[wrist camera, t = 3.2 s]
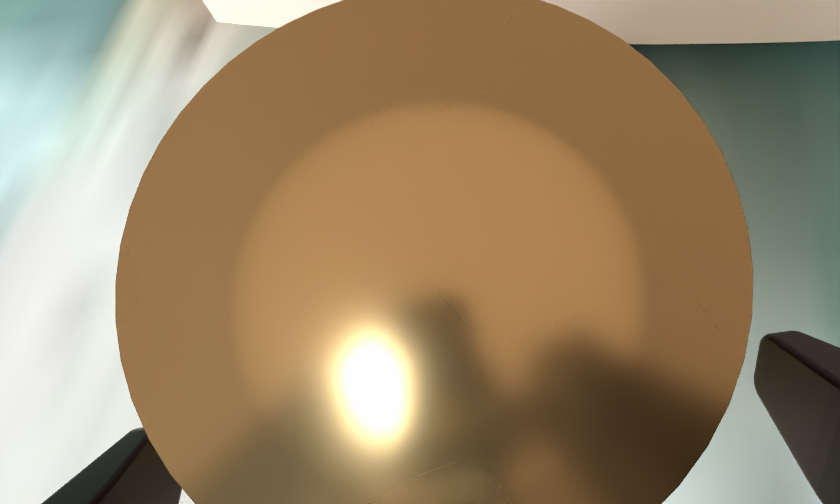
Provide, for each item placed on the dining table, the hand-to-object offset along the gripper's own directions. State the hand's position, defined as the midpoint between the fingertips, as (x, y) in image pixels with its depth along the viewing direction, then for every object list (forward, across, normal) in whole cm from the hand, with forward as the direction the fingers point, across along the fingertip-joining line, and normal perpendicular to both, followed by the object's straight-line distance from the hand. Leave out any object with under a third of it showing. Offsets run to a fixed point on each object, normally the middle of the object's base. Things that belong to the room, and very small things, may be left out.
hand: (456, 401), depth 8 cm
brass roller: (+7, 0, +5) cm, 9 cm away
